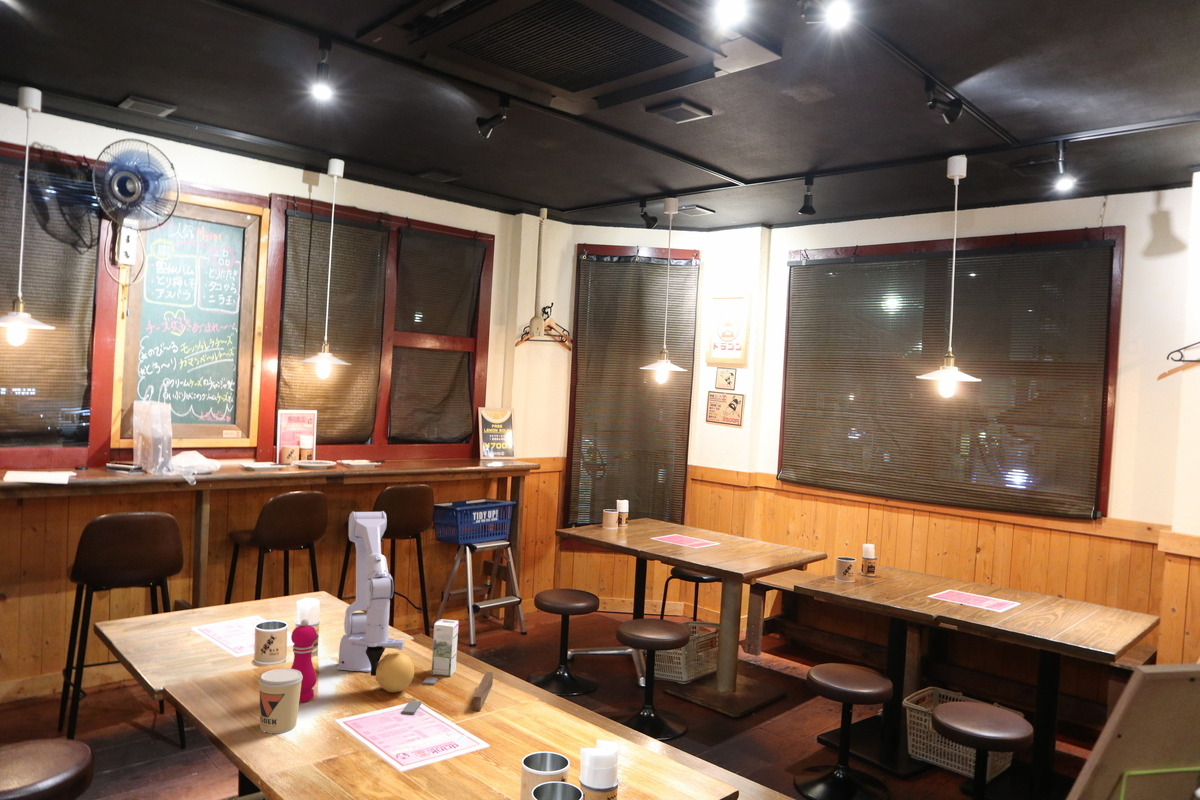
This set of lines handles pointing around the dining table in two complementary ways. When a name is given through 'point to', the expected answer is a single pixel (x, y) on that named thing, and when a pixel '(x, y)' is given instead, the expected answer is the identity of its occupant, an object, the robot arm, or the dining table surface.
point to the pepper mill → (304, 658)
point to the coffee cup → (279, 699)
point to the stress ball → (395, 672)
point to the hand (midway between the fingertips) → (374, 674)
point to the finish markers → (414, 705)
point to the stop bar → (482, 691)
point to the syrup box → (444, 647)
